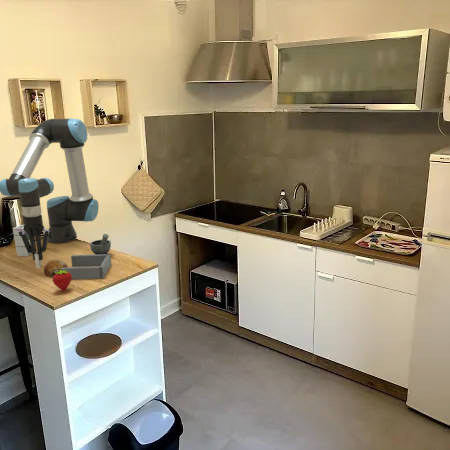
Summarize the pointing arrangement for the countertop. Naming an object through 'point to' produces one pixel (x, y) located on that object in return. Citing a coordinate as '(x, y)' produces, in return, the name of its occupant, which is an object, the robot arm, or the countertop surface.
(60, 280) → the strawberry
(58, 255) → the countertop surface
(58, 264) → the bread roll
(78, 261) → the box
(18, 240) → the syrup box
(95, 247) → the mortar and pestle
